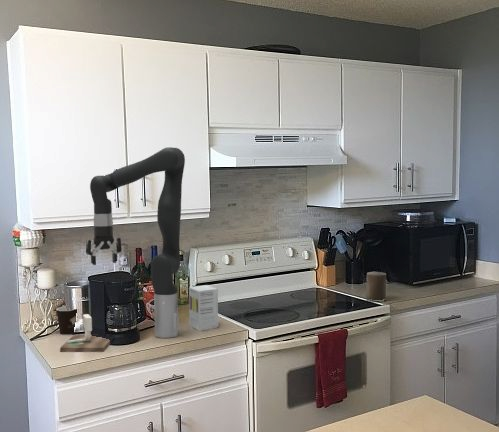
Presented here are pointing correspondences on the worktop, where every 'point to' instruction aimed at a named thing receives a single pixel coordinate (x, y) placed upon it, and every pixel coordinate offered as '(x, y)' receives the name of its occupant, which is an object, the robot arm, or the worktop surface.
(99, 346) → the dial plate
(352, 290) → the worktop surface
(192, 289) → the supplement box
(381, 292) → the pillar candle
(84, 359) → the worktop surface
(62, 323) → the coffee mug
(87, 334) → the tuning peg
